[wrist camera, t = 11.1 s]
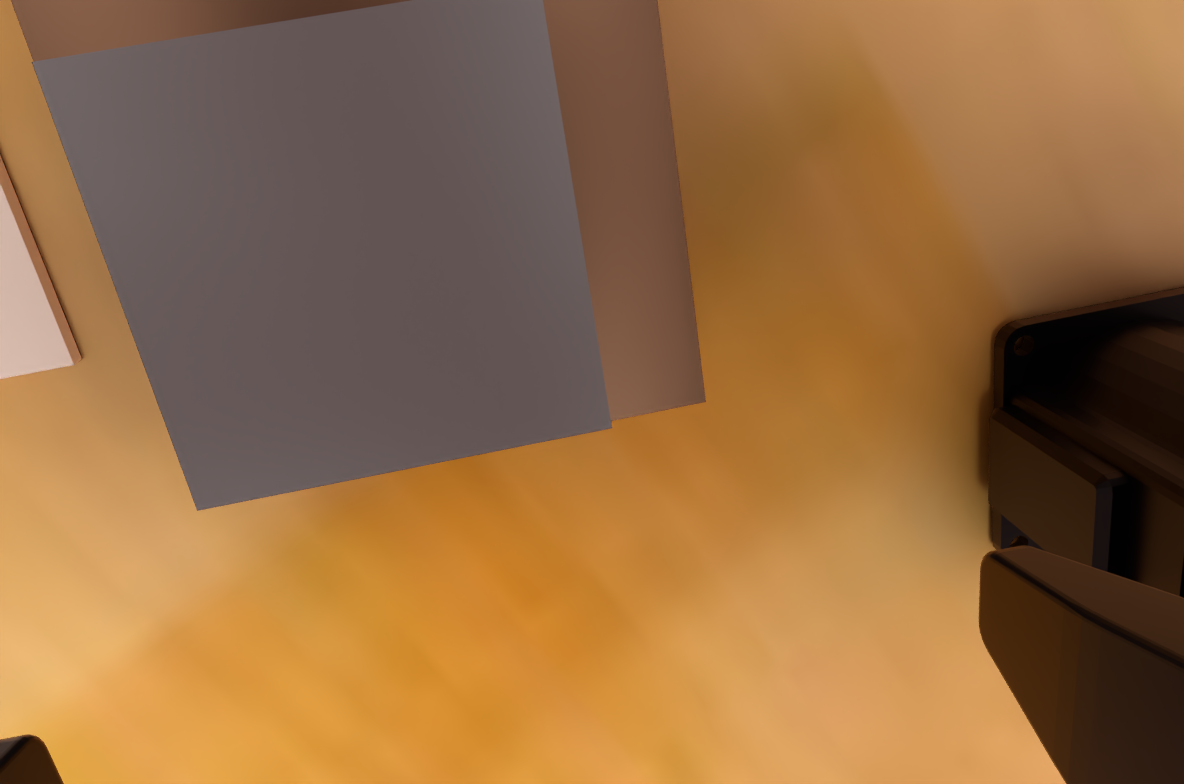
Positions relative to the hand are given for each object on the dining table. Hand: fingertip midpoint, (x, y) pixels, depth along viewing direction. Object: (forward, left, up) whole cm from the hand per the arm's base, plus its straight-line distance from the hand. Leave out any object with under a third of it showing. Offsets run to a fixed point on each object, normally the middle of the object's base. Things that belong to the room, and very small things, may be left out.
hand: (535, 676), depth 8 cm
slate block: (+1, -4, -9) cm, 10 cm away
